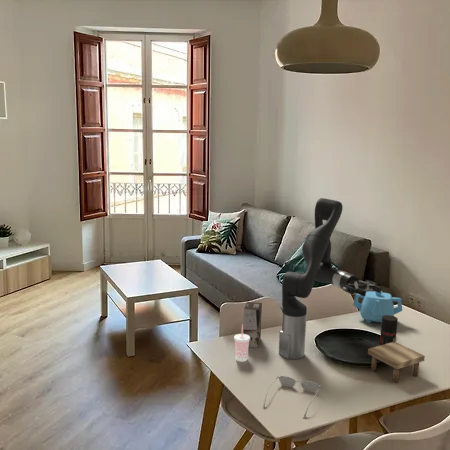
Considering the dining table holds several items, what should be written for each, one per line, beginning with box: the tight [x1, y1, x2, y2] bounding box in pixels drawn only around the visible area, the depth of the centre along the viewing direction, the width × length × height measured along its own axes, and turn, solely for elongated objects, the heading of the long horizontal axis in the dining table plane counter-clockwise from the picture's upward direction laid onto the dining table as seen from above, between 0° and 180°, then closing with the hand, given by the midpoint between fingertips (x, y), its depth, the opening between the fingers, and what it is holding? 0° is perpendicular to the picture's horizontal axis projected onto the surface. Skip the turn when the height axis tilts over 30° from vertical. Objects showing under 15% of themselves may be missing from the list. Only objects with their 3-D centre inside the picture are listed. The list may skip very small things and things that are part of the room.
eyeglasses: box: [262, 375, 322, 420], centre depth 174 cm, size 15×18×4 cm
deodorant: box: [379, 315, 399, 346], centre depth 210 cm, size 6×6×15 cm
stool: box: [367, 341, 425, 384], centre depth 195 cm, size 14×14×8 cm
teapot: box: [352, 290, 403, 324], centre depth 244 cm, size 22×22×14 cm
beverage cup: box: [233, 323, 250, 363], centre depth 203 cm, size 6×6×14 cm
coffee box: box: [243, 301, 263, 348], centre depth 218 cm, size 9×6×16 cm
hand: (373, 292), depth 216 cm, fingers open, 8 cm apart
